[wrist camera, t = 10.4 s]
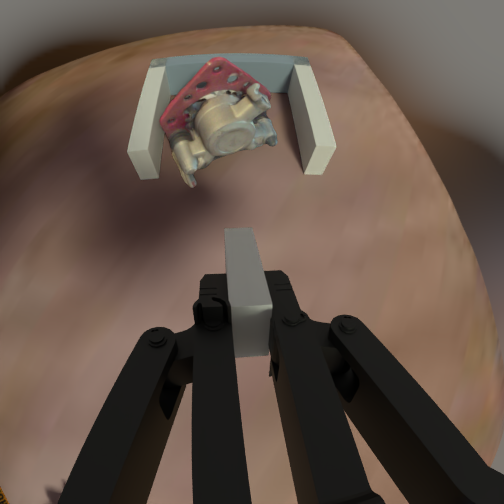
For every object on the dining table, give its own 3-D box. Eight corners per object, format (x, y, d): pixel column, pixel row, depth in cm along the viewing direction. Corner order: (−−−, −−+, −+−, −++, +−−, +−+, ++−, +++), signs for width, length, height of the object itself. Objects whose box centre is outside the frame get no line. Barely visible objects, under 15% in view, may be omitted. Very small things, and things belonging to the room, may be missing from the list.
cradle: (321, 174, 29) (336, 146, 24) (140, 179, 27) (127, 151, 23) (299, 85, 33) (307, 57, 29) (158, 87, 32) (151, 59, 27)
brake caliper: (244, 77, 30) (282, 43, 19) (267, 159, 34) (314, 161, 23) (152, 100, 28) (146, 70, 17) (178, 187, 32) (184, 201, 21)
